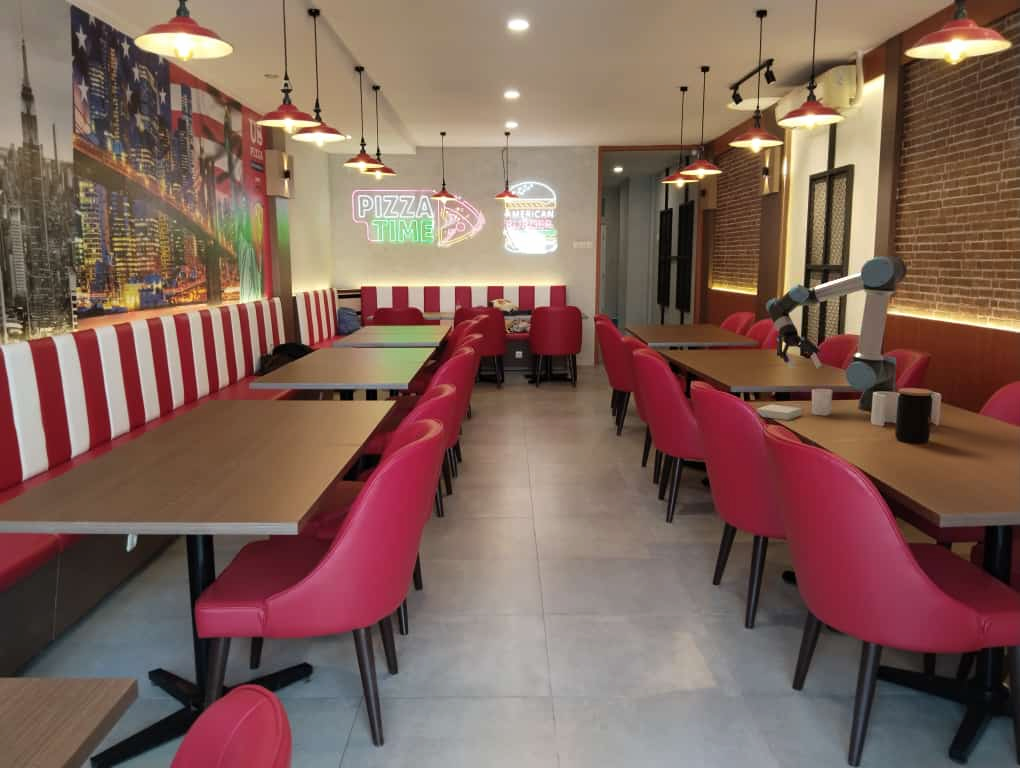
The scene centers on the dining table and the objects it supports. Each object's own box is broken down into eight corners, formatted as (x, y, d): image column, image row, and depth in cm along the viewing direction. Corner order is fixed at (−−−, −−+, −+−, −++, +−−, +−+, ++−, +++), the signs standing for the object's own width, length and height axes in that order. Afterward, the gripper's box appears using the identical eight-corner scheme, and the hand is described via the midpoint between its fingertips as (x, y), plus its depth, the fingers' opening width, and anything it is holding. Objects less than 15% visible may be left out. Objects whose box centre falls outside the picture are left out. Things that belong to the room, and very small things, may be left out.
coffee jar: (933, 444, 258) (938, 393, 255) (901, 443, 259) (904, 392, 256) (922, 437, 268) (926, 388, 265) (890, 436, 270) (894, 387, 267)
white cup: (832, 416, 306) (834, 392, 304) (812, 415, 307) (814, 391, 306) (828, 412, 313) (830, 389, 312) (809, 411, 315) (810, 388, 313)
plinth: (800, 415, 308) (800, 408, 307) (787, 420, 298) (787, 413, 298) (770, 411, 317) (770, 404, 316) (756, 415, 307) (756, 408, 307)
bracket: (927, 420, 296) (930, 390, 294) (942, 425, 286) (945, 395, 284) (865, 421, 295) (867, 391, 293) (878, 426, 286) (880, 396, 284)
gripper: (805, 333, 336) (825, 371, 325) (757, 334, 330) (776, 373, 318) (814, 322, 330) (835, 360, 319) (765, 324, 324) (784, 363, 312)
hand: (805, 367), depth 318 cm, fingers open, 13 cm apart
